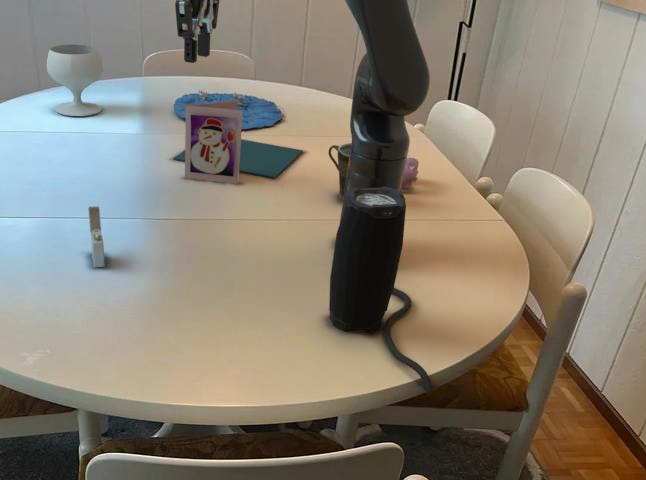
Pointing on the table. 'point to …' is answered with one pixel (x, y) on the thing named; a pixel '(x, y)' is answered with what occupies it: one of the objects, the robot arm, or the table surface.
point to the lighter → (96, 237)
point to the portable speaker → (366, 257)
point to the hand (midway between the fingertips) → (197, 58)
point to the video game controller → (410, 172)
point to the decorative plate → (252, 107)
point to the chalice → (75, 75)
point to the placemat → (261, 158)
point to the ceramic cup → (341, 164)
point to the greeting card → (213, 142)
